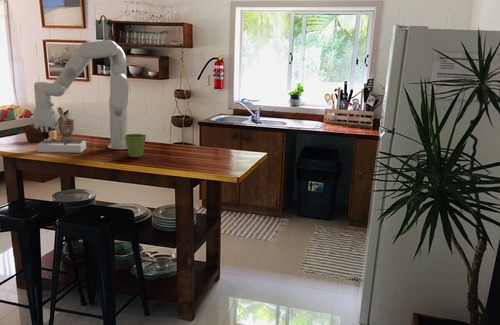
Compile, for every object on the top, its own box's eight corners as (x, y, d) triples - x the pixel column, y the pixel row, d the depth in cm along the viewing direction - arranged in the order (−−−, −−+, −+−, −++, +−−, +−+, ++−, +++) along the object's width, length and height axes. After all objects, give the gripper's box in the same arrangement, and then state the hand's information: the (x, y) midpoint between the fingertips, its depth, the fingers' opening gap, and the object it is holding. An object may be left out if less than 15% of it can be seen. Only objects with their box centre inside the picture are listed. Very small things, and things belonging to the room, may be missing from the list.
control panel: (86, 147, 241) (85, 139, 240) (80, 152, 229) (80, 143, 228) (45, 147, 238) (44, 138, 237) (37, 151, 226) (37, 143, 225)
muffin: (20, 143, 246) (19, 126, 244) (33, 139, 257) (32, 123, 254) (38, 144, 244) (37, 127, 242) (50, 141, 255) (49, 124, 252)
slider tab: (57, 141, 234) (56, 130, 233) (54, 142, 230) (53, 132, 228) (52, 141, 234) (51, 130, 232) (50, 142, 230) (49, 131, 228)
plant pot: (151, 155, 229) (151, 135, 226) (135, 159, 219) (135, 138, 216) (135, 152, 235) (135, 132, 232) (119, 156, 225) (118, 135, 222)
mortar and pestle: (52, 141, 255) (49, 108, 250) (62, 138, 263) (60, 106, 258) (67, 143, 252) (65, 109, 247) (77, 140, 260) (76, 108, 255)
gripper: (60, 105, 231) (62, 138, 236) (31, 104, 229) (34, 137, 234) (55, 106, 224) (58, 140, 228) (26, 105, 222) (28, 140, 226)
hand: (46, 138), depth 231 cm, fingers closed
